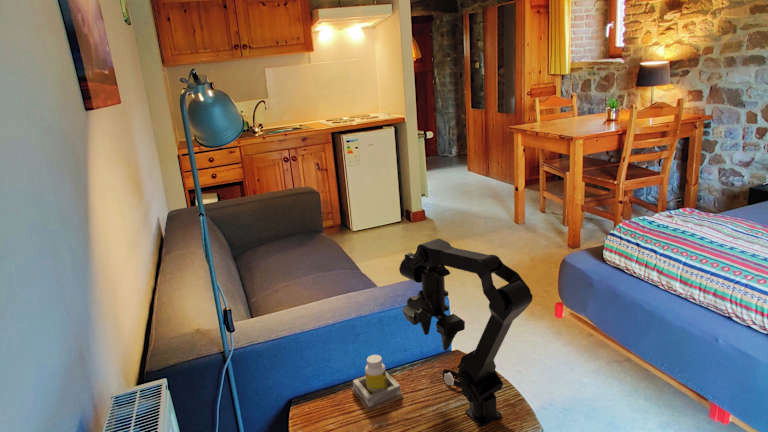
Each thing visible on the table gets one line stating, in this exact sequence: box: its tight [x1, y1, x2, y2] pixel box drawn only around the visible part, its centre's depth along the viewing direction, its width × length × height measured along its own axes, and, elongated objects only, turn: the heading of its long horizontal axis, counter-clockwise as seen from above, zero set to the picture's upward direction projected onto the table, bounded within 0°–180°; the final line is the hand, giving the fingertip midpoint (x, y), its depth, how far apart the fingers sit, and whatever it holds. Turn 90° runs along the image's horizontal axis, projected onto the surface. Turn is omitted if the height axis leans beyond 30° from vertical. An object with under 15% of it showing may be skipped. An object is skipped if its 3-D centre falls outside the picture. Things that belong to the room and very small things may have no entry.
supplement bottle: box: [364, 354, 387, 394], centre depth 130 cm, size 5×5×10 cm
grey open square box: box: [351, 371, 404, 412], centre depth 131 cm, size 10×10×4 cm
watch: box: [442, 369, 461, 388], centre depth 134 cm, size 8×5×4 cm, turn 34°
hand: (435, 341), depth 130 cm, fingers open, 9 cm apart
